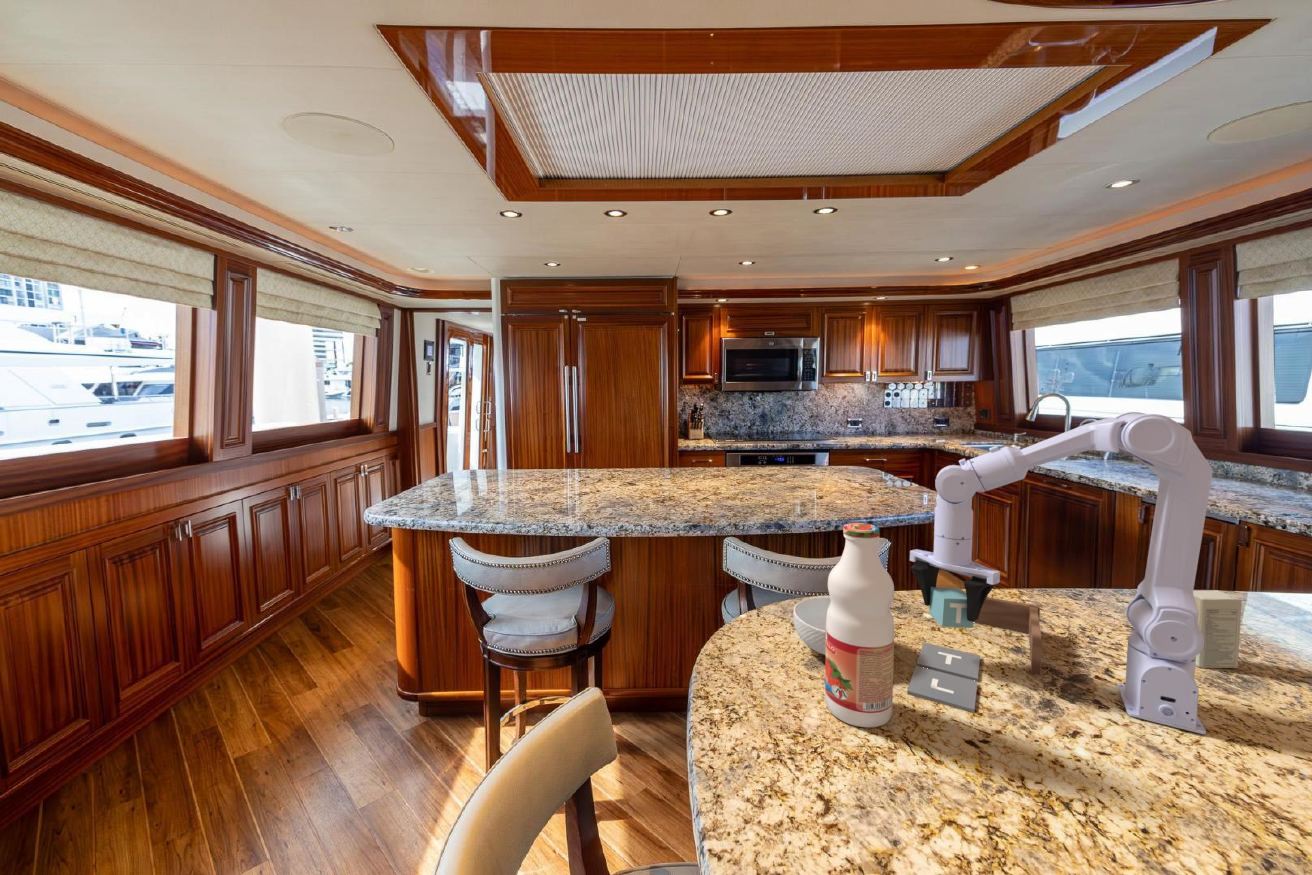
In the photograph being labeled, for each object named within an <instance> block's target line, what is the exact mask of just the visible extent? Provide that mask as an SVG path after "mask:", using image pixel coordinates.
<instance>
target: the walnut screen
mask: <svg viewBox="0 0 1312 875" xmlns="http://www.w3.org/2000/svg"><path fill="white" fill-rule="evenodd" d="M1040 613H1041V607H1040V606H1039V605H1035V604H1034V605H1033V604H1028V603H1022V602H1017V601H1011V600H1005V599H999V598H993V597H988V596H987V597H986V599H985V601H984V603H983V605H982V608H981V611H980V614H979V617H978V620H975V621H973V622H975V623H974V624H977V623H979V624H978V625H982V624H986V625H985V626H987V625H990V626H989V627H991V626H994V627H993V628H996V627H998V629H1001V628H1002V630H1006V629H1009V630H1008V631H1011V630H1013V631H1012V632H1016V631H1017V632H1016V633H1021V634H1026V633H1027V634H1029V635H1028V644H1029V645H1028V646H1030V647H1029V656H1030V668H1031V671H1030V672H1031V675H1034V676H1038V677H1041V676H1042V658H1043V657H1042V656H1043V640H1042V633H1041V624H1040V615H1041V614H1040ZM1027 634H1026V635H1027Z"/></svg>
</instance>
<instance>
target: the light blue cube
mask: <svg viewBox="0 0 1312 875" xmlns="http://www.w3.org/2000/svg"><path fill="white" fill-rule="evenodd" d="M928 612H929V613H928V615H929V616H931V617H932V618H933V619H934V620H935V621H936V622H937V623H938V624H939V625H940V627H942V628H943V627H945V628H965V629H967V628H968V629H973V627H974V623H973V622H971V621H968V620H967V595H966V591H965V590H963V589H962V588H961V587H939V586H938V587H937V586H936V587H931V593H930V606H929V610H928Z"/></svg>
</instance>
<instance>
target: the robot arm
mask: <svg viewBox="0 0 1312 875" xmlns="http://www.w3.org/2000/svg"><path fill="white" fill-rule="evenodd" d="M988 450H989V452H987V453H984V454H981V455H978V456H976V457H973V458H970V459H967V460H966V458H962V459H960V460H958V463H959V465H956V464H952V465H951V464H950V465H947V466H945V467H943V468H941V469H940V470H939V472H938V473H937V475H936V478H935V485H934V486H935V489H936V492H937V495H936V497H935V504H936V506H935V508H934V525H933V529H934V531H933V551H932V552H931V551H927V550H922V549H919V548H918V549H917V548H916V549H912V550H910V551H909V561H910V562H913V563H914V564H913V565H911V571H912V573H913V575H914V576H915V578H916V581H917V582H918V586H919V588H920V592H921V595H922V599H923V604H924V605H925V606H927V607H930V593H931V587H937V582H938V575H939V572H940V569H942V570H945V571H949V572H952V573H955V574H959V575H962V576H966V577H970V578H971V579H968V580H965V581H963V586H964V589H965V590H964V591H965V592H966V595H967V620H968V621H971V622H973V621H975V620H978V617H979V614H980V611H981V608H982V605H983V603H984V601H985V599H986V597H988V595H989V594H990V593H991V591H992V590H993V589H994V587H995V586H996V585H997V584H999V583H1000V580H1001V571H999V570H996V569H993V568H992V567H991V568H990V567H987V566H985V565H982V564H981V563H978V562H975V561H973V560H972V559H973V558H972V552H973V530H974V529H973V527H974V526H973V525H974V510H973V508H972V504H973V503H972V501H973V497H974V496H975V494H976V493H977V492H978V493H985V492H987V491H991V490H994V489H997V488H1001V487H1002V486H1006V485H1009V484H1012V483H1015V482H1018V481H1021V480H1024V479H1025V478H1026V476H1027V474H1028V471H1029V470H1030V469H1031V468H1034V467H1037V466H1041V465H1044V464H1048V463H1050V462H1054V461H1058V460H1061V459H1063V458H1064V459H1065V458H1066V457H1067V458H1068V457H1071V456H1074V455H1077V454H1078V455H1079V454H1081V453H1084V452H1087V451H1096V452H1097V451H1098V452H1106V453H1108V452H1109V453H1116V454H1117V453H1119V452H1120V451H1121V452H1122V453H1124V454H1126V455H1128V456H1131V457H1134V458H1135V459H1137V460H1139V461H1141V463H1142V464H1143V465H1144V466H1146V467H1147V468H1148V469H1150V470H1151V471H1152V472H1153V473H1154V474H1156V476H1157V477H1159V481H1158V482H1159V483H1158V488H1157V496H1156V500H1155V501H1156V503H1155V510H1154V515H1153V522H1152V529H1151V534H1150V535H1151V536H1150V542H1149V547H1148V548H1149V549H1148V554H1147V555H1148V556H1147V561H1146V568H1145V575H1144V578H1143V580H1142V581H1141V582H1140V583H1139V584H1138V585H1137V590H1136V593H1135V596H1134V597H1133V599H1132V600H1130V601H1129V602H1128V604H1127V605H1126V609H1125V615H1126V616H1125V617H1126V619H1127V621H1128V623H1129V624H1130V625H1131V626H1132V627H1133V631H1132V632H1131V634H1130V635H1129V636H1128V638H1127V650H1126V651H1127V652H1126V669H1125V680H1124V681H1125V683H1121V682H1120V683H1117V689H1118V693H1119V694H1120V698H1121V700H1122V702H1123V705H1124V708H1125V710H1126V713H1127V715H1128V716H1130V717H1133V718H1137V719H1140V720H1145V721H1150V722H1152V723H1157V724H1161V725H1164V726H1170V727H1173V728H1177V729H1180V730H1185V731H1188V732H1192V733H1196V734H1200V735H1206V734H1207V731H1206V729H1205V727H1204V725H1203V723H1202V721H1201V720H1200V718H1199V716H1198V705H1199V695H1200V694H1199V686H1198V683H1197V682H1196V680H1195V679H1196V678H1195V677H1196V655H1198V654H1199V653H1200V652H1201V651H1202V649H1203V647H1204V637H1203V635H1202V633H1201V631H1200V629H1199V626H1198V617H1199V612H1198V608H1197V605H1196V602H1195V599H1194V595H1193V590H1195V589H1194V588H1195V582H1196V575H1197V571H1198V563H1199V557H1200V552H1201V551H1200V550H1201V544H1202V540H1203V532H1204V529H1205V528H1204V527H1205V520H1206V515H1207V509H1208V503H1209V502H1208V501H1209V498H1210V497H1209V496H1210V490H1211V485H1212V484H1211V483H1212V479H1213V469H1212V467H1211V465H1210V463H1209V462H1208V461H1207V459H1206V458H1205V456H1204V455H1203V453H1202V451H1201V450H1200V449H1199V447H1198V446H1197V444H1196V442H1195V441H1194V439H1193V436H1192V432H1191V431H1190V430H1189V429H1188V428H1186V427H1185V426H1183V425H1181V424H1180V423H1179V422H1177V421H1175V420H1174V419H1173V418H1171V417H1169V416H1166V415H1162V414H1157V413H1148V414H1147V413H1143V412H1137V411H1131V412H1125V413H1122V414H1119V415H1117V416H1116V417H1107V418H1103V419H1099V420H1096V421H1092V422H1089V423H1086V424H1082V425H1080V426H1078V427H1075V428H1073V429H1070V430H1068V431H1065V432H1062V433H1060V434H1056V435H1055V436H1052V437H1050V438H1047V439H1044V440H1042V441H1039V442H1037V443H1035V444H1032V445H1029V446H1026V447H1024V448H1021V449H1016V448H1013V447H1011V446H1007V445H1005V446H1003V447H999V446H998V445H994V446H992V447H989V448H988Z"/></svg>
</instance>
